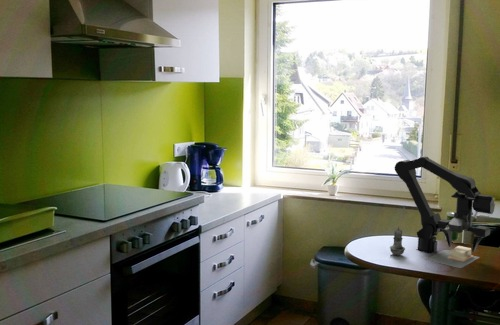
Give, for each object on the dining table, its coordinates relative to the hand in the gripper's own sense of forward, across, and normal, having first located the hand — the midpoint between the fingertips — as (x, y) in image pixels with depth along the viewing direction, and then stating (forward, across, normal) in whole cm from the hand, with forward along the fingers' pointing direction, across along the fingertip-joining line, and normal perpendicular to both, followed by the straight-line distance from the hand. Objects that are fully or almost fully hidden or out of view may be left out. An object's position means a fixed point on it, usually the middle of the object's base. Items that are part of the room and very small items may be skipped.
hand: (461, 249), depth 203 cm
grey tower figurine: (+4, -19, -16) cm, 25 cm away
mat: (+4, -2, -4) cm, 6 cm away
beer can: (+4, -14, +23) cm, 27 cm away
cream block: (+3, 0, 0) cm, 3 cm away
